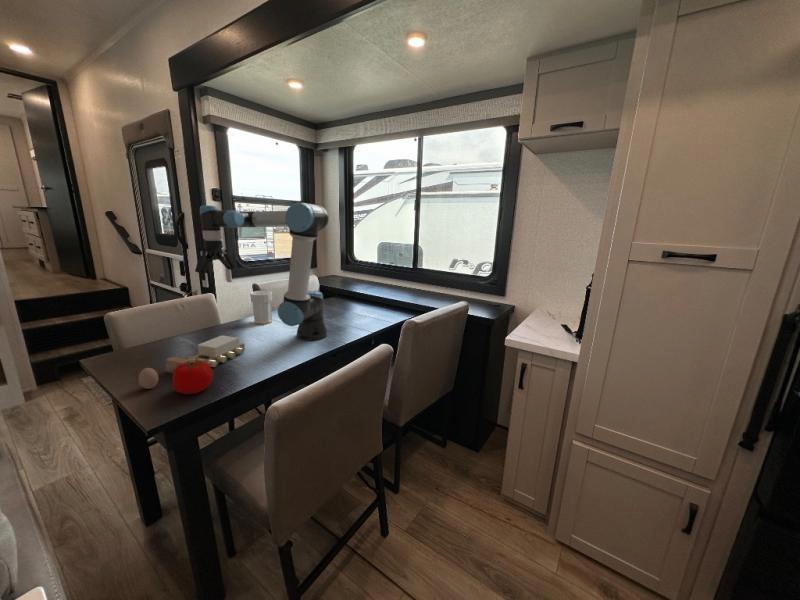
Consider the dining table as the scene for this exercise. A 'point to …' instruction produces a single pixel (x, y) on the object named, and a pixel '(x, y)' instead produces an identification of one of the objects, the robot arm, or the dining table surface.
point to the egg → (148, 378)
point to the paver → (218, 346)
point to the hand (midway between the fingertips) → (218, 284)
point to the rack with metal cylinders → (203, 358)
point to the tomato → (192, 377)
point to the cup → (262, 307)
